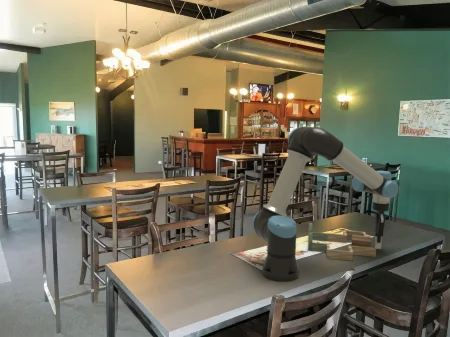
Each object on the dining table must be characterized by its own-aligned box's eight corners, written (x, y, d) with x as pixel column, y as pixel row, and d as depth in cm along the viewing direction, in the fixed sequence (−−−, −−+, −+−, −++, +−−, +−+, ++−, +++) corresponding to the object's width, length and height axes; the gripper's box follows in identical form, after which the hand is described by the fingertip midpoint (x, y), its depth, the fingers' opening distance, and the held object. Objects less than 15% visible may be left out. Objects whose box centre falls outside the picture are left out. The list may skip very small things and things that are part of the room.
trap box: (378, 263, 163) (380, 244, 162) (307, 256, 170) (308, 238, 169) (366, 239, 198) (367, 223, 197) (308, 234, 205) (309, 218, 204)
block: (370, 253, 176) (371, 241, 175) (351, 251, 179) (351, 239, 178) (370, 247, 184) (370, 236, 183) (351, 245, 187) (352, 234, 187)
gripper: (392, 205, 170) (388, 253, 172) (386, 200, 182) (383, 244, 185) (375, 204, 171) (371, 251, 174) (370, 199, 184) (367, 243, 187)
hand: (377, 248), depth 180 cm, fingers closed
